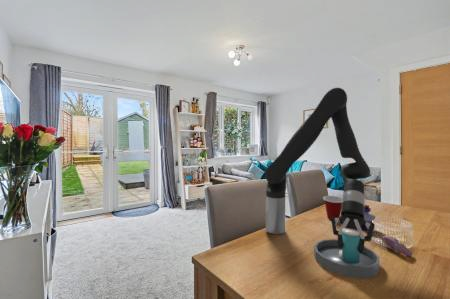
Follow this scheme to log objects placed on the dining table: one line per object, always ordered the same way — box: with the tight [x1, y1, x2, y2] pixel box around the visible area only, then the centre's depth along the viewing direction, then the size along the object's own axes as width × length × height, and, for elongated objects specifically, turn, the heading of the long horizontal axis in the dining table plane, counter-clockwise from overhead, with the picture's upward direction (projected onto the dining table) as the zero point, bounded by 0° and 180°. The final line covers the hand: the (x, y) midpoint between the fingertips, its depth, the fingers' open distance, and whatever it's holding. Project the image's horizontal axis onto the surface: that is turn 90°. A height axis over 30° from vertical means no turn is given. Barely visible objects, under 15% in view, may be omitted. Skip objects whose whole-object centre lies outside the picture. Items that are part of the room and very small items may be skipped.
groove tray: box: [313, 238, 380, 279], centre depth 82 cm, size 21×21×4 cm
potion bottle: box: [361, 204, 376, 232], centre depth 112 cm, size 9×9×12 cm
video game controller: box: [380, 234, 413, 258], centre depth 89 cm, size 10×5×7 cm, turn 6°
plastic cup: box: [322, 195, 342, 221], centre depth 126 cm, size 11×11×12 cm
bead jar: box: [342, 228, 360, 264], centre depth 76 cm, size 5×5×10 cm
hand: (350, 249), depth 75 cm, fingers closed on bead jar, 5 cm apart
